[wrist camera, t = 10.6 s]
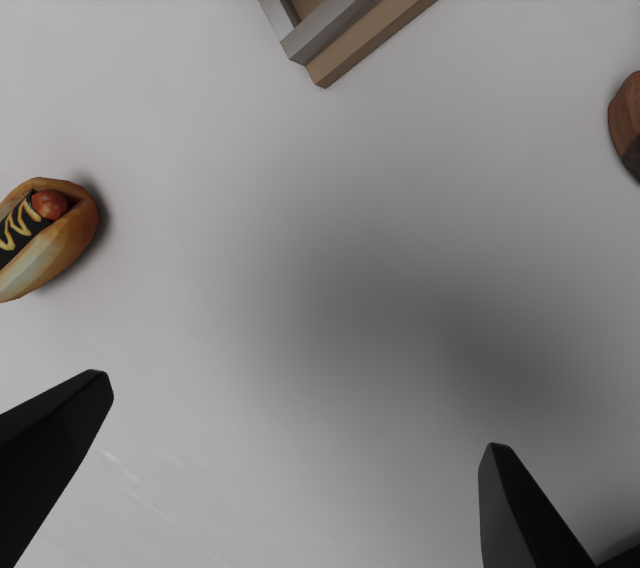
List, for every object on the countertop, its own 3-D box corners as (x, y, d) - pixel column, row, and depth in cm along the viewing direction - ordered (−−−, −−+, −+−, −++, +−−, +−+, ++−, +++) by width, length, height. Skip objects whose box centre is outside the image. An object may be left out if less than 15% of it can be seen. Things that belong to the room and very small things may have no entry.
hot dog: (131, 231, 28) (59, 245, 23) (40, 302, 34) (-30, 323, 30) (95, 164, 28) (15, 164, 23) (10, 248, 34) (-64, 261, 30)
